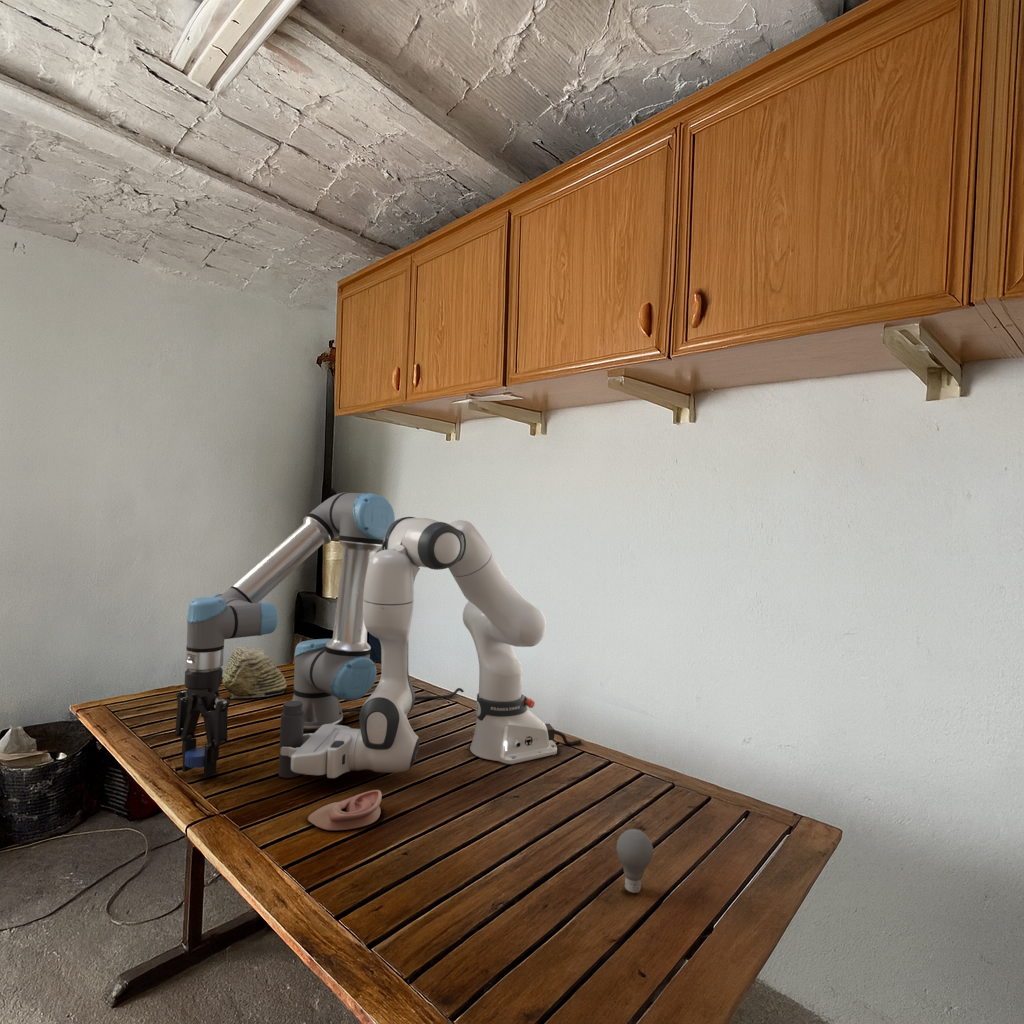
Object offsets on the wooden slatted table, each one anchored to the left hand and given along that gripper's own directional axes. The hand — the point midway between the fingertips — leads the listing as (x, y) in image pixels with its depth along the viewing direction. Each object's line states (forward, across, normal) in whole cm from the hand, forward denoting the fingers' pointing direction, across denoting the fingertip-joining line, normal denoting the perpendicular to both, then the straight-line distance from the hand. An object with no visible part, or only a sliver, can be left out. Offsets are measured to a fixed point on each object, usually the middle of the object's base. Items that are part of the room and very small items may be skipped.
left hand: (199, 772), depth 140 cm
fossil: (+1, -33, +49) cm, 59 cm away
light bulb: (+1, +96, +3) cm, 96 cm away
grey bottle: (+1, +16, +11) cm, 19 cm away
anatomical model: (+1, +39, +1) cm, 39 cm away
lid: (-4, 0, 0) cm, 4 cm away
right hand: (-6, +15, +11) cm, 19 cm away
